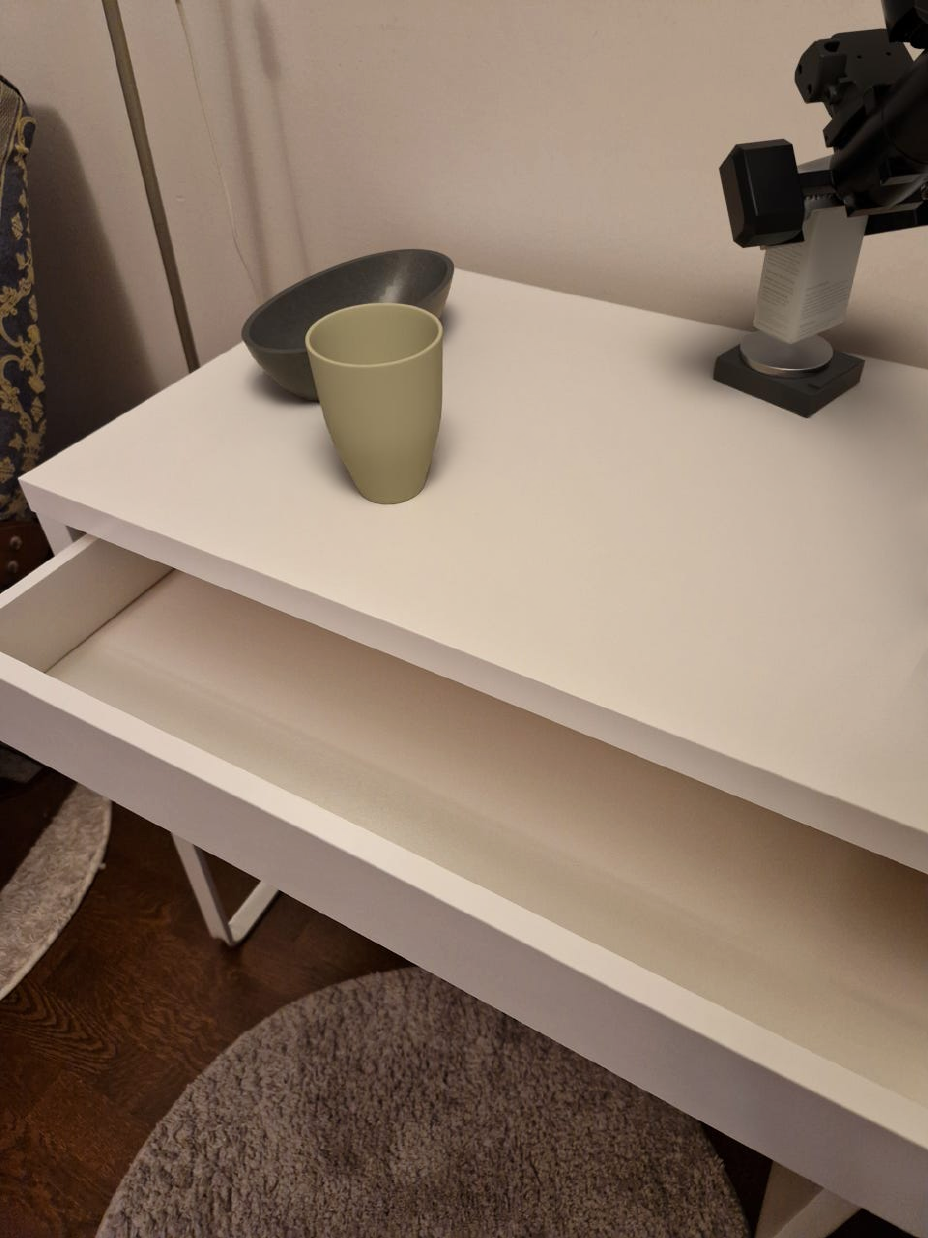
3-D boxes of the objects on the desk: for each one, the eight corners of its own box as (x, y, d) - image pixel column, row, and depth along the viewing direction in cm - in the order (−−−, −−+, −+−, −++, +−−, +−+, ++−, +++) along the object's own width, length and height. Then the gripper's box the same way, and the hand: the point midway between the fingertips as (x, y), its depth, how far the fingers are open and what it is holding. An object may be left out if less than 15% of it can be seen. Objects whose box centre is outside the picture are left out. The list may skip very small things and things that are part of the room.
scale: (859, 382, 79) (868, 350, 77) (807, 418, 75) (814, 386, 74) (765, 346, 84) (771, 316, 82) (712, 379, 80) (717, 348, 79)
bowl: (220, 397, 82) (204, 329, 78) (393, 301, 94) (386, 237, 90) (322, 442, 76) (310, 370, 72) (492, 333, 88) (490, 266, 84)
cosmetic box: (803, 307, 79) (834, 148, 71) (846, 326, 76) (884, 163, 68) (748, 328, 77) (774, 166, 69) (791, 348, 74) (823, 183, 66)
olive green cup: (484, 470, 72) (479, 318, 64) (395, 537, 67) (377, 380, 59) (377, 425, 77) (360, 279, 69) (286, 483, 72) (256, 332, 64)
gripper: (1041, -27, 59) (898, 121, 74) (753, 2, 57) (667, 148, 72) (1079, 149, 58) (927, 261, 74) (790, 186, 56) (695, 293, 72)
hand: (805, 237), depth 73 cm, fingers closed on cosmetic box, 7 cm apart
